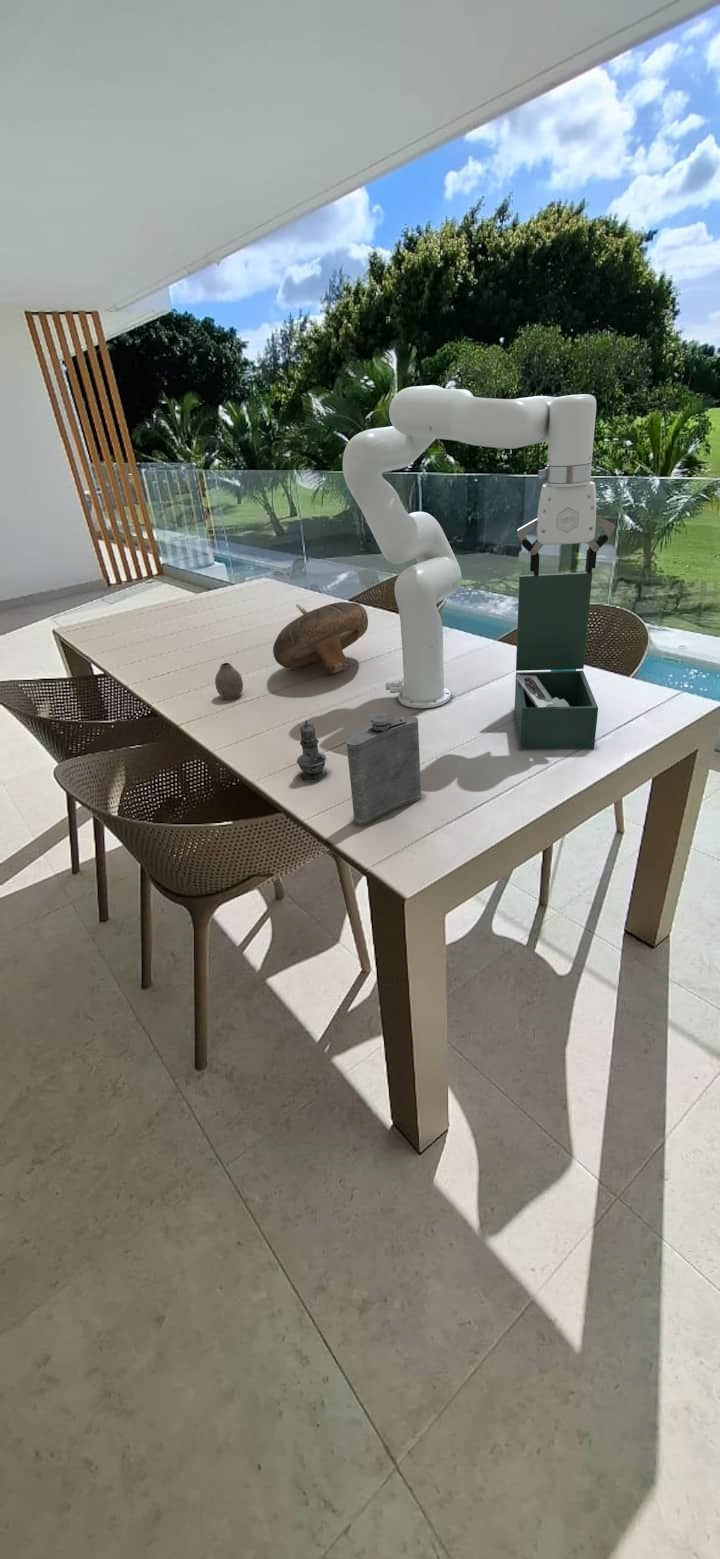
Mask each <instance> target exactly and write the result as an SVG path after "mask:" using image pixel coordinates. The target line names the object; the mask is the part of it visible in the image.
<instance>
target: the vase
mask: <svg viewBox="0 0 720 1559" xmlns="http://www.w3.org/2000/svg"><path fill="white" fill-rule="evenodd" d="M214 685H215V689H216V691H217V693H218V695H219V696H220V697H221V698H223V699H225V700H235V699H237V698H239V697H240V696H241V694H242V693H243V689H244V683H243V678H242V675H241V674H240V672H239V671H238V670H237V669H236V668H234V666H232V664H231V663H230V662H223V663H220V666H219V669H218V671H217V673H216V675H215V680H214Z"/></svg>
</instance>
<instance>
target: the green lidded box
mask: <svg viewBox="0 0 720 1559" xmlns="http://www.w3.org/2000/svg"><path fill="white" fill-rule="evenodd" d="M516 675H529V676H537V678H538V679H539V681H540V682H541V683H542V685H543V686H544V688H545V689H546V691H547V692H548V693H549V695H550V696H551V698H552V699H553V698H555V697H557V698H558V699H559V700H561V699H565V700H566V702H567V703H568V704H569V706H570V707H536V706H535V705H534V703H533V702H532V700H531V699H530V698H529V696H528V695H527V693H526V692H525V690H524V689H523V687H522V686H521V684H520V683H519V682H518V680H517V679H516V678H515V684H514V685H515V686H514V689H515V690H514V714H515V722H516V728H517V735H518V742H519V749H520V750H594V749H595V744H596V734H597V726H598V716H599V706H598V704H597V701H596V699H595V696H594V694H593V692H592V689H591V686H590V684H589V681H588V678H587V676H586V674H585V671H584V670H576V671H551V670H548V671H516V672H515V676H516Z"/></svg>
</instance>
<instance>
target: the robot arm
mask: <svg viewBox="0 0 720 1559" xmlns="http://www.w3.org/2000/svg"><path fill="white" fill-rule="evenodd" d="M388 417H389V421H390V423H391V426H385V427H384V426H383V427H376V428H370V429H366V430H363V431H360V432H359V433H357V434H355V435H353V437H351V438H350V440H349V441H348V442H347V444H346V446H345V448H344V451H343V456H342V473H343V478H344V482H345V484H346V487H347V488H348V491H349V493H350V494H351V496H352V498H353V499H354V500H355V502H356V504H357V506H358V507H359V509H360V510H361V512H362V515H363V516H364V518H365V519H364V520H365V521H366V524H367V525H368V528H369V529H370V531H371V533H372V536H373V537H374V540H375V541H376V543H377V546H378V548H379V550H380V551H381V554H382V555H383V557H384V558H385V559H386V561H388V562H389V563H391V564H395V565H399V564H404V563H407V562H410V561H412V560H416V562H417V563H415V564H412V565H410V566H408V567H406V568H405V569H403V570H402V571H401V572H400V574H398V576H397V578H396V580H395V583H394V597H395V601H396V604H397V605H396V606H397V610H398V615H399V622H400V637H401V646H402V647H401V651H402V652H401V654H402V670H403V672H402V673H403V677H402V680H398V682H397V681H396V682H394V681H387V682H385V691H389V694H396V693H398V695H397V699H398V702H399V703H400V704H401V705H403V706H405V707H407V708H412V709H431V708H436V707H437V708H438V707H440V706H443V705H445V704H447V703H448V702H450V700H451V698H452V695H451V694H452V693H451V691H450V689H448V688H447V687H445V668H444V664H445V662H444V629H443V621H442V620H443V619H442V617H441V614H440V612H439V610H438V605H437V604H438V603H439V602H442V601H444V600H446V599H449V598H450V597H452V596H453V595H455V594H456V593H457V592H458V591H459V590H460V587H461V586H462V579H463V578H462V577H463V576H462V571H461V567H460V564H459V562H458V560H457V558H456V555H455V553H454V551H453V549H452V547H451V545H450V542H449V541H448V538H447V536H446V534H445V532H444V530H443V528H442V526H441V525H440V523H439V521H438V520H437V519H436V518H435V517H434V516H433V515H431V514H429V512H425V511H414V512H410V513H409V512H408V511H407V510H406V509H405V506H404V505H403V503H402V500H401V498H400V496H399V494H398V493H397V490H395V488H394V487H393V486H392V485H391V483H390V482H388V481H387V480H386V479H385V478H384V476H383V473H388V472H392V471H397V470H402V469H404V468H407V467H409V466H410V465H412V464H413V463H414V462H415V461H417V459H418V458H419V457H420V456H421V455H422V454H423V453H424V452H425V451H426V450H427V449H428V448H429V447H430V446H431V444H433V443H434V441H435V440H436V439H437V440H438V439H439V440H445V441H447V440H448V441H455V442H459V443H463V444H468V445H471V446H476V447H485V448H496V449H509V450H510V449H520V448H523V447H527V446H533V445H537V444H541V443H546V442H547V460H546V467H544V468H543V469H538V473H537V478H538V479H542V480H544V481H545V483H543V484H542V486H541V490H540V494H539V500H538V505H537V515H536V517H535V519H533V520H530V521H529V522H528V523H526V524H524V525H522V526H521V527H519V528H517V529H516V535H517V537H518V539H519V542H520V543H521V545H522V547H523V548H524V549H525V550H526V551H527V552H528V553H529V554H530V559H529V560H530V563H529V571H530V572H532V573H533V574H532V575H534V577H537V576H539V575H540V574H539V573H540V553H539V551H540V550H541V549H542V548H543V547H544V546H554V545H555V546H558V545H573V544H576V545H577V544H587V545H588V548H587V549H586V555H585V556H586V557H585V567H584V568H585V570H584V571H585V572H587V574H592V575H593V569H596V567H597V566H596V565H597V556H598V555H597V554H598V552H599V551H600V549H601V548H602V547H603V546H604V545H605V544H606V542H608V541H609V538H610V537H611V535H612V534H613V532H614V530H615V528H616V525H615V524H614V523H612V522H611V521H608V520H607V519H604V518H602V517H600V516H598V515H597V489H596V482H594V481H592V480H591V477H592V465H593V454H594V442H595V441H594V440H595V428H596V417H597V399H596V397H595V396H594V395H592V394H587V393H584V394H570V395H563V396H562V395H561V396H546V395H536V396H528V397H519V398H489V397H478V396H474V395H473V393H472V392H471V391H470V390H468V389H465V388H463V389H462V388H443V387H441V386H440V385H435V384H430V385H418V386H417V385H416V386H409V387H405V388H403V389H401V390H400V391H398V392H397V393H396V394H395V395H394V396H393V398H392V399H391V401H390V404H389V407H388ZM596 525H597V526H599V527H601V528H603V531H602V533H601V534H600V535H599V536H598V537H597V538H596V539H595V536H596V527H597V526H596ZM533 530H535V536H536V539H535V540H534V541H533V543H532V542H531V541H530V540H529V539H528V538H527V533H529V532H531V531H533ZM594 539H595V540H594Z"/></svg>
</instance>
